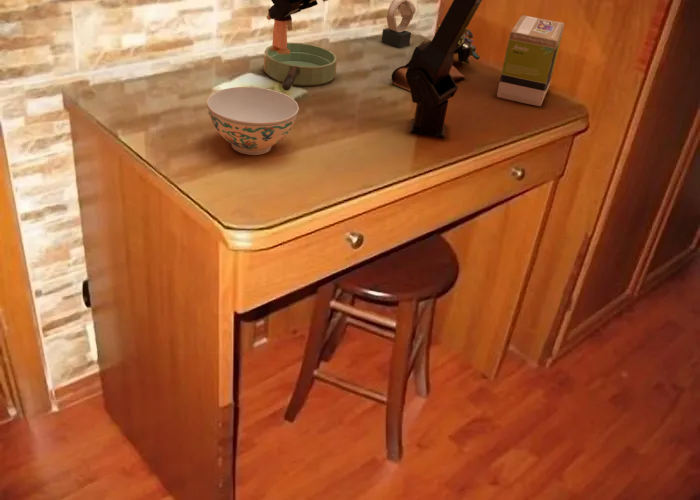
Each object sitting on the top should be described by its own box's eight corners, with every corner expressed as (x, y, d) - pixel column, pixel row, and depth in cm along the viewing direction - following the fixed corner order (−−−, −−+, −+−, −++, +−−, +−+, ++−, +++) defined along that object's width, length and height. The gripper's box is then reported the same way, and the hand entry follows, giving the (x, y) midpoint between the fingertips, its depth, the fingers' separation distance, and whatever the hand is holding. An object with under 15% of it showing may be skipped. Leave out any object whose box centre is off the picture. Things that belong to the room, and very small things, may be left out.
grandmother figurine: (299, 54, 147) (304, -11, 141) (286, 57, 145) (291, -9, 138) (270, 43, 151) (274, -20, 144) (258, 46, 148) (261, -18, 141)
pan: (330, 91, 150) (332, 71, 148) (257, 80, 150) (258, 60, 148) (338, 67, 163) (340, 48, 160) (271, 57, 163) (272, 38, 161)
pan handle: (289, 92, 140) (290, 84, 139) (280, 91, 140) (281, 82, 139) (299, 74, 149) (299, 65, 148) (290, 72, 149) (291, 64, 148)
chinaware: (247, 120, 133) (249, 80, 129) (312, 147, 127) (316, 106, 123) (187, 144, 123) (187, 101, 118) (255, 175, 116) (257, 131, 112)
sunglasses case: (421, 93, 153) (413, 62, 152) (396, 100, 158) (388, 70, 157) (468, 77, 165) (460, 47, 164) (443, 83, 170) (436, 55, 169)
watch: (413, 43, 183) (420, -1, 177) (394, 49, 178) (401, 3, 172) (395, 37, 186) (402, -7, 180) (376, 42, 180) (382, -3, 174)
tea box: (506, 77, 170) (521, 13, 162) (549, 86, 168) (567, 22, 160) (494, 97, 158) (510, 29, 150) (541, 108, 155) (559, 39, 147)
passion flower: (455, 85, 177) (491, 53, 169) (429, 85, 169) (466, 52, 161) (433, 47, 179) (468, 14, 172) (407, 45, 171) (442, 11, 164)
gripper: (327, -76, 141) (276, -28, 151) (276, -65, 127) (223, -12, 136) (359, -26, 143) (306, 19, 152) (312, -9, 128) (257, 39, 138)
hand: (274, 15), depth 145 cm, fingers closed on grandmother figurine, 2 cm apart
